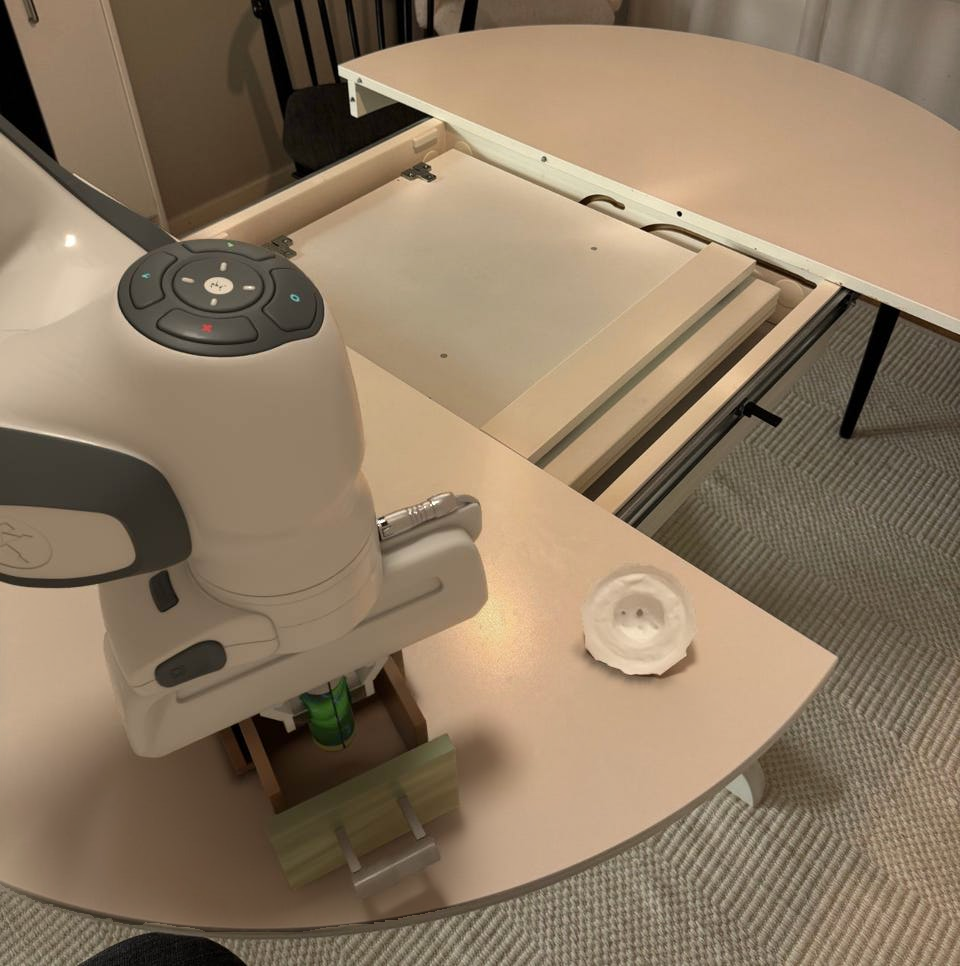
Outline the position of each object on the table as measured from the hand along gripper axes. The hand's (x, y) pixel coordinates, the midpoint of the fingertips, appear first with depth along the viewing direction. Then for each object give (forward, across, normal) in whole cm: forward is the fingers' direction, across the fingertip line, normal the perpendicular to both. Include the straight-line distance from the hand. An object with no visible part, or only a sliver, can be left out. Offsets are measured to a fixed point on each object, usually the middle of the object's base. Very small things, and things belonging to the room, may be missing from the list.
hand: (326, 703), depth 56 cm
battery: (+4, 0, 0) cm, 4 cm away
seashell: (+10, -23, 0) cm, 25 cm away
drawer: (+9, 0, +1) cm, 9 cm away
